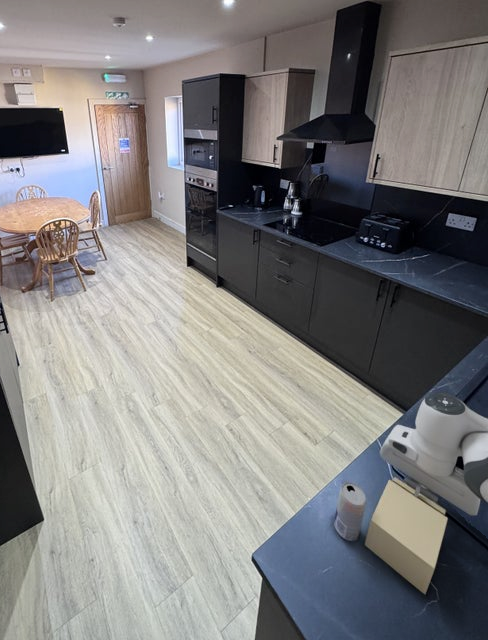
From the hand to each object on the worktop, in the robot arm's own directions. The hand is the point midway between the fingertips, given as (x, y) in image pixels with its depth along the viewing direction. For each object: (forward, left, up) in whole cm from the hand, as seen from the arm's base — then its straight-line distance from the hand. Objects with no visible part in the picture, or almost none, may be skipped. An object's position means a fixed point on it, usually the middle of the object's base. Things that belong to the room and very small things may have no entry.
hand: (421, 493), depth 82 cm
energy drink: (+19, +13, -2) cm, 23 cm away
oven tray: (+5, +8, -1) cm, 9 cm away
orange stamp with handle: (+4, +7, +5) cm, 10 cm away
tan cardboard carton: (+8, +13, -2) cm, 15 cm away
